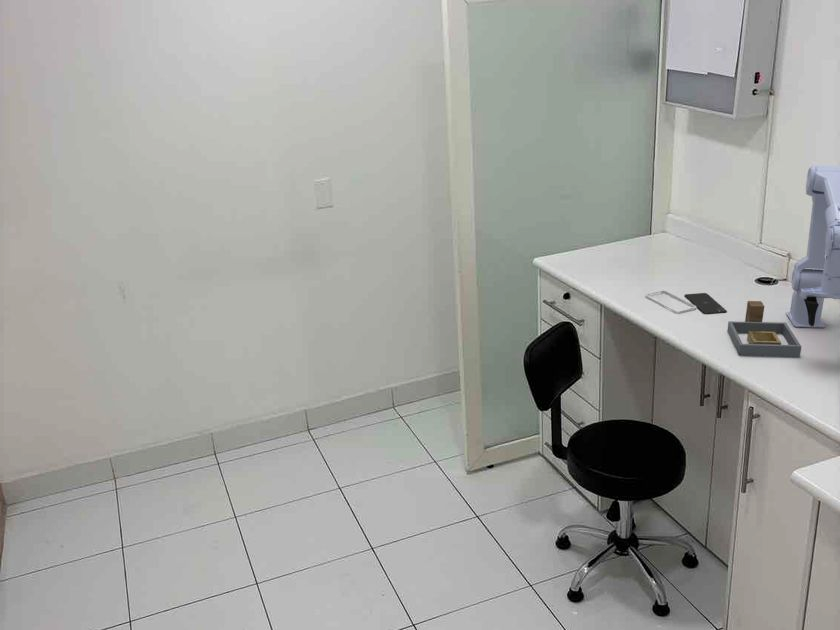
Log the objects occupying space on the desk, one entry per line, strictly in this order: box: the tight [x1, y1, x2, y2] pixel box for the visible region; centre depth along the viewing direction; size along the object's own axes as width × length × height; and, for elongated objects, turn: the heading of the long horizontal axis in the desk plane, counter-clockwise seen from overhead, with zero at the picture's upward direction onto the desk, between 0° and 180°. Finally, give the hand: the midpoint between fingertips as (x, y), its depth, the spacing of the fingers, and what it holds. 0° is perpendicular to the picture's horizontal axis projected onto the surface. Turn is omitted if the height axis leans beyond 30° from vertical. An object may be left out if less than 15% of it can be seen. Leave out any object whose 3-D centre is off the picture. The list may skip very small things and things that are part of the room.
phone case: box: [645, 289, 697, 315], centre depth 253 cm, size 7×1×15 cm
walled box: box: [726, 320, 802, 358], centre depth 226 cm, size 15×15×3 cm
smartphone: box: [684, 292, 728, 315], centre depth 252 cm, size 7×1×15 cm
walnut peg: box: [744, 300, 765, 322], centre depth 235 cm, size 4×4×7 cm
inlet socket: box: [746, 331, 782, 345], centre depth 225 cm, size 7×7×2 cm
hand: (827, 324), depth 213 cm, fingers open, 7 cm apart
